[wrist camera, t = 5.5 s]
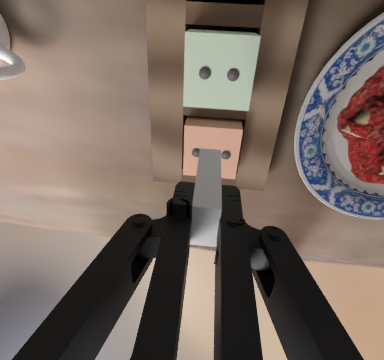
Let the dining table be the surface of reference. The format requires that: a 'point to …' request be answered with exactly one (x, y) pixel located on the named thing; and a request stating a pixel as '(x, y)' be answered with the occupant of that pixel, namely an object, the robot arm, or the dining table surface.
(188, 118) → the tile three
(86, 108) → the dining table surface
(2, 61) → the cup
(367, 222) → the dining table surface
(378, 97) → the ceramic plate
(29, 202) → the dining table surface
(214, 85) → the tile two
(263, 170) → the button board
